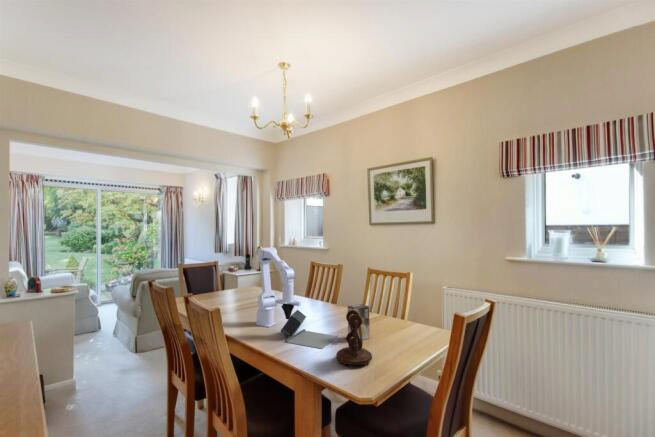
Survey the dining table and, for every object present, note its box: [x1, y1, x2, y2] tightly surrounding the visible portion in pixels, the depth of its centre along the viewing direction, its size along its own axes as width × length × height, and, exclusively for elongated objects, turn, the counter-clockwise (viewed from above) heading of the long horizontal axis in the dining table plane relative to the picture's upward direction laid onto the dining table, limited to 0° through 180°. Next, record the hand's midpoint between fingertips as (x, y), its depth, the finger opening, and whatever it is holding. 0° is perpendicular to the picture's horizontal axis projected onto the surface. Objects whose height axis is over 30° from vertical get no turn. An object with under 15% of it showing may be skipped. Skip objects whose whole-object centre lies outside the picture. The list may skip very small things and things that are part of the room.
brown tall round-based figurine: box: [335, 310, 373, 367], centre depth 130 cm, size 15×15×20 cm
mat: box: [284, 328, 338, 350], centre depth 155 cm, size 20×18×1 cm
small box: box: [280, 309, 307, 339], centre depth 160 cm, size 11×6×10 cm
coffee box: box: [347, 303, 371, 341], centre depth 156 cm, size 9×6×16 cm
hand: (288, 318), depth 161 cm, fingers closed
